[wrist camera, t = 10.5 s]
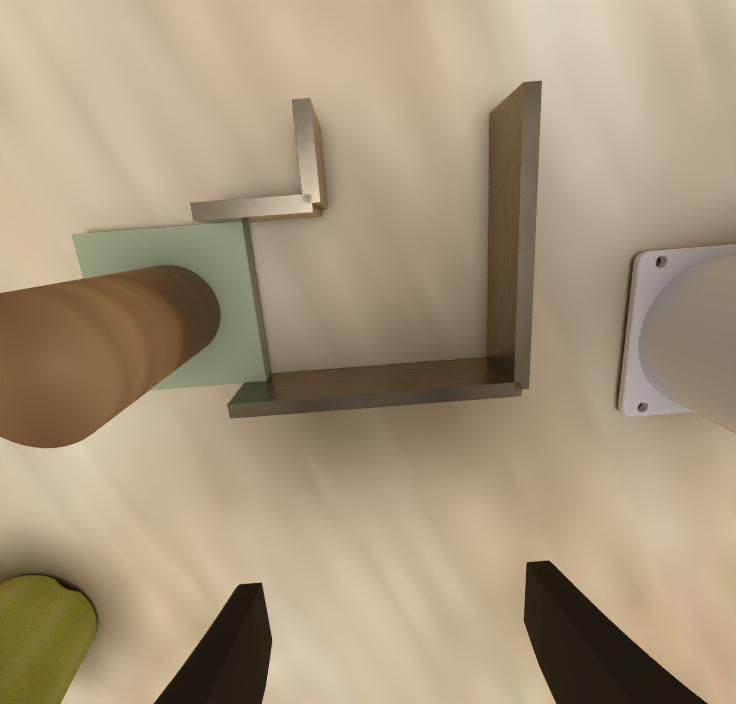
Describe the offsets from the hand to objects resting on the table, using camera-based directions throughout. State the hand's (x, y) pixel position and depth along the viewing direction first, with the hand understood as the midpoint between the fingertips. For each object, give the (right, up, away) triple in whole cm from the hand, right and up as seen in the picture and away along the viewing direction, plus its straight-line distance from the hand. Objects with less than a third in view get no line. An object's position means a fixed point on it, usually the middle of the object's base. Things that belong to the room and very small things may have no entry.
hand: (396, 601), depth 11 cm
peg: (-9, +9, +7) cm, 14 cm away
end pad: (-9, +9, +8) cm, 15 cm away
